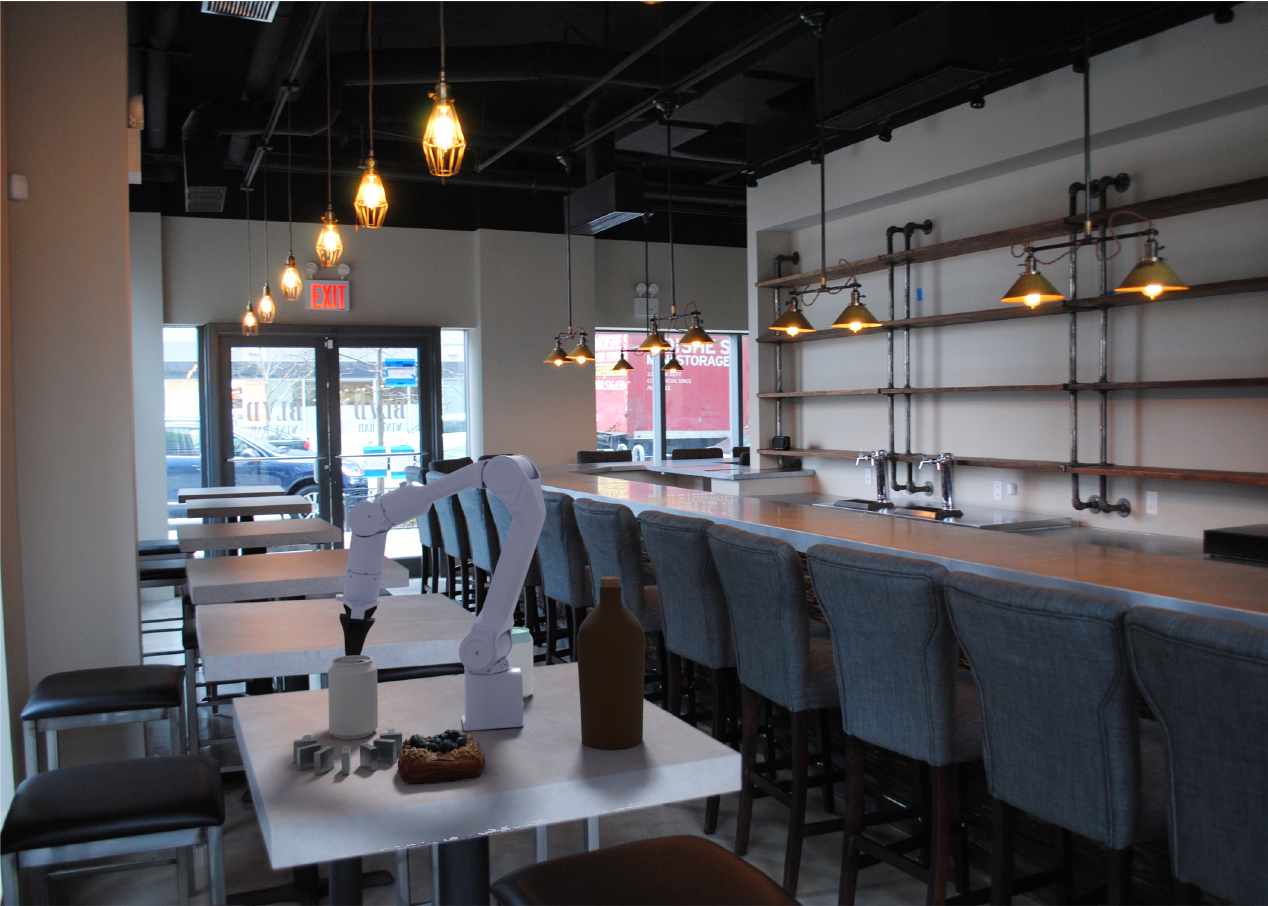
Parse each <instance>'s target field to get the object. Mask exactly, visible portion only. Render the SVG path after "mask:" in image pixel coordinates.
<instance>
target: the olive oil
mask: <svg viewBox="0 0 1268 906" xmlns="http://www.w3.org/2000/svg"><path fill="white" fill-rule="evenodd" d="M599 582H600V586H599V602H598V604H597V605H596V606H595V607H594V608H593V610H592V611H591V612H590V613H589V614H588V615H587V616H586V617H585V618H584V620H583V621H582V622H581V624H580V626H579V629H578V632H577V635H576V656H577V657H576V658H577V669H578V670H577V671H578V672H577V673H578V686H579V687H578V690H579V691H578V692H579V706H580V707H579V708H580V729H581V730H580V732H581V734H580V735H581V742H582V743H583V744H584V745H585V746H588V747H590V748H594V749H598V750H599V749H601V750H621V749H627V748H631V747H634V746H638V745H639V744H640V743H642V741H643V738H644V698H645V697H644V695H645V694H644V693H645V671H646V670H645V669H646V666H645V665H646V649H647V648H646V647H647V645H646V644H647V642H646V640H647V639H646V638H647V637H646V635H645V630H644V627H643V625H642V623H641V622H640V620H639V619H638V618H637V617H636V616H635V615H634V614H633V613H632V612H631V610H630V609H628V607H627V606H626V605H625V604H624V602H623V601H622V585H621V582H622V579H621V577H620V576H613V575H612V576H611V575H609V576H602V577H600V578H599Z"/></svg>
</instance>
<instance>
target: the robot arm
mask: <svg viewBox="0 0 1268 906" xmlns="http://www.w3.org/2000/svg"><path fill="white" fill-rule="evenodd" d="M541 483H542V475H541V473H540V472H539V470H538V469H537V467H536V465H535V464H534V462H533V461H532V460H531V459H530V458H529V457H528V456H526V455H522V454H513V455H503V454H502V455H497V456H493V457H492V458H489V459H488V458H487V459H484V460H479V461H477V462H474V463H470V464H468V465H466V466H464V467H461V468H458V469H457V470H455V471H453V472H450V473H448V474H445V475H444V476H442V477H440V478H437V479H436V480H433V481H431V482H429V483H427V484H422V483H421V482H418V481H412V482H411V481H409V480H404V481H401V482H400V483H398V484H399V487H397V488H395V489H392V490H390V491H388V492H385V493H383V492H378V493H375V494H374V499H373V500H371V499H370V500H367V499H365V500H359V501H358V502H357V503H355V504H354V505H353V506H351V508H349V511H348V514H347V524H348V527H349V529H350V530H351V533H350V534H351V535H350V541H349V550H348V557H347V558H348V559H347V564H346V573H345V581H344V589H343V593H342V594H341V593H340V594H339V593H337V594H336V595H335V601H338V602H339V601H340V602H342V603H343V604H342V606H343V608H344V612H345V613H342V612H340V613H339V618H338V619H339V621H340V625H341V627H342V631H343V638H344V639H343V640H344V653H345V654H344V655H345V656H351V655H362V651H363V649H364V645H365V642H366V638H367V636H368V633H369V631H370V629H371V628H372V627H373V625H374V623H375V621H376V618H375V617H373V615H374V614H375V612H376V610H377V609H378V605H379V604H380V598H379V597H380V590H381V582H382V576H383V575H382V573H383V569H384V568H383V567H384V566H383V565H384V559H385V552H386V544H387V536H388V532H389V531H390V530H392V529H393V528H395V527H398V526H399V525H400V526H401V524H405V523H407V522H409V521H411V520H414V519H416V518H420V517H421V516H424V515H427V514H428V513H429V511H430V510H431V507H432V505H433V503H435V502H437V501H440V500H443V499H446V498H448V497H450V496H453V495H456V494H458V493H461V492H464V491H466V490H469V489H472V488H475V489H479V490H480V489H481V490H485V489H488V491H490V492H491V493H492V494H493V495H494V496H495V497H497V498H498V499H499V500H500V501H501V502H502V503H503V505H504V506H505V508H506V510H507V512H508V513H509V515H510V517H511V522H510V525H509V528H508V531H507V533H506V534H507V535H506V537H505V540H504V543H503V546H502V548H501V552H500V555H499V558H498V560H497V563H496V567H495V571H494V573H493V576H492V578H491V582H490V584H489V588H488V590H487V594H486V597H485V600H484V602H483V606H482V609H481V611H480V612H479V614H478V616H477V617H476V619H475V620H474V622H473V623H472V627H471V629H470V631H469V633H468V634H467V635H466V636H465V637H464V638H463V639H462V640H461V642H460V644H459V647H458V657H459V660H460V662H461V664H462V665H463V666H464V673H463V674H464V714H462V715H461V722H462V723H461V724H462V727H463V731H465V732H469V731H481V730H483V731H484V730H492V729H493V730H494V729H506V728H508V729H509V728H521V727H524V725H525V723H524V710H525V709H524V708H525V706H524V699H523V683H522V672H521V668H519V667H509V663H508V660H507V658H506V656H507V655H508V654H509V653H510V651H511V649H512V645H513V639H512V629H513V627H515V626H514V625H515V620H514V613H515V611H516V610H515V609H516V607H517V604H518V601H519V599H520V594H521V592H522V588H523V585H524V583H525V580H526V577H527V574H528V571H529V568H530V565H531V562H532V559H533V556H534V553H535V550H536V548H537V544H538V542H539V538H540V537H541V536H540V535H541V532H542V530H543V526H544V523H545V521H546V518H547V508H546V503H545V498H544V493H543V488H542V484H541Z"/></svg>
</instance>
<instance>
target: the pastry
mask: <svg viewBox="0 0 1268 906" xmlns="http://www.w3.org/2000/svg"><path fill="white" fill-rule="evenodd" d="M397 758H398V759H397V760H398V761H397V770H398V772H399V776H400V778H401V779H402V781H403V782H404V783H405V784H406V785H407V786H415V785H416V786H417V785H429V784H430V785H431V784H432V785H433V784H441V783H449V782H450V783H453V782H454V783H455V782H458V781H466V780H473V779H479V778H481V775H482V773H483V772H484V768H485V765H486V753H485V752H484V750H483V749H482V747H481V746H480V743H479V741H477V740H476V739H475V738H474V736H473V735H472V733H465V732H460V731H459V730H458V729H455V728H454V729H447V730H444V732H441V733H440V734H435V735H433V736H431V735H428V736H427V737H426V736H425V735H421V734H418V733H416V734H412V735H411V736H410V737H409V739H408V738H405V740H404V741H403V740H402V749H401V750H400V752H399V754H398V755H397Z"/></svg>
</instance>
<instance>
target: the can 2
mask: <svg viewBox="0 0 1268 906" xmlns="http://www.w3.org/2000/svg"><path fill="white" fill-rule="evenodd" d="M512 639H513V645H512V649H511V651H510V653H509V654H508V655H507V656H506V658H507V660H508V663H509V667H519V668H521V672H522V683H523V700H524V699H528V698H529V697H530V696H531V695H533V693H534V691H535V690H534V639H533V636H532V634H531V633H530V629H529V628H527V627H521V626H516V627H515V626H513V629H512Z"/></svg>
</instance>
